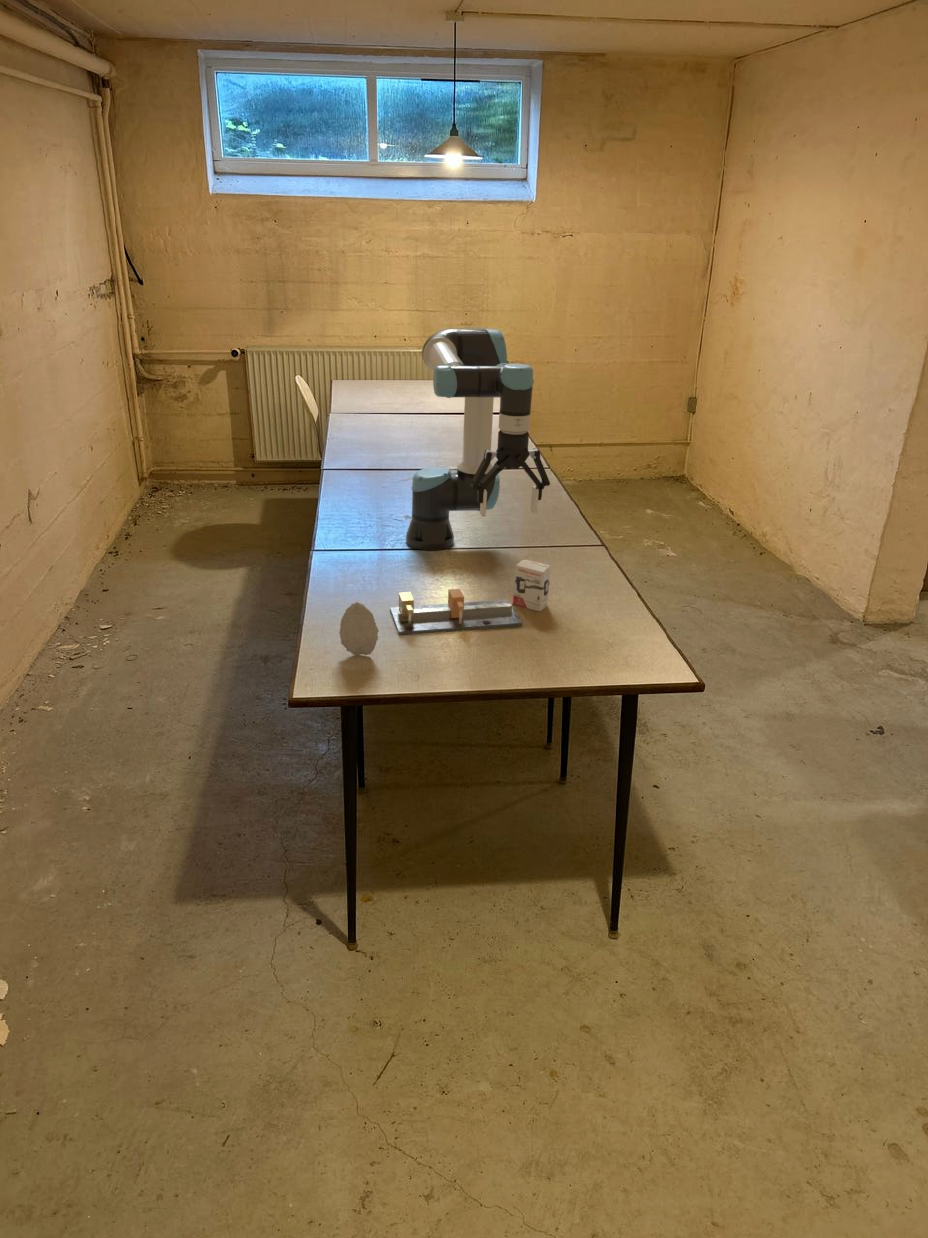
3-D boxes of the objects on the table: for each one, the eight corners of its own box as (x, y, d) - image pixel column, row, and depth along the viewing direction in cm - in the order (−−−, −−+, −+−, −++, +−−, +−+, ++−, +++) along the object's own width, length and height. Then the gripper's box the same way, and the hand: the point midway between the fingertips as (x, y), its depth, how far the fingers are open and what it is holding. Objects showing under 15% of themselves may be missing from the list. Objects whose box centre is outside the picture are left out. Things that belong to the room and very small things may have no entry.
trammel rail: (396, 614, 220) (396, 592, 217) (508, 607, 226) (509, 585, 224) (402, 630, 212) (402, 607, 209) (517, 621, 219) (519, 599, 216)
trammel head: (447, 610, 223) (448, 589, 220) (458, 609, 223) (459, 588, 220) (455, 625, 215) (455, 603, 212) (466, 624, 216) (467, 603, 213)
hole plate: (390, 610, 224) (390, 607, 223) (506, 603, 231) (507, 599, 230) (399, 635, 212) (399, 631, 211) (521, 626, 219) (521, 622, 218)
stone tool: (379, 653, 203) (378, 596, 196) (378, 659, 200) (378, 602, 194) (340, 653, 203) (338, 596, 196) (339, 659, 200) (337, 602, 193)
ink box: (512, 604, 230) (514, 564, 225) (520, 597, 234) (523, 558, 229) (540, 612, 227) (544, 571, 221) (548, 605, 231) (551, 565, 225)
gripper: (468, 435, 200) (464, 521, 209) (567, 433, 206) (559, 515, 216) (460, 428, 206) (457, 511, 216) (556, 425, 213) (549, 506, 222)
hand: (508, 513), depth 216 cm, fingers open, 13 cm apart
